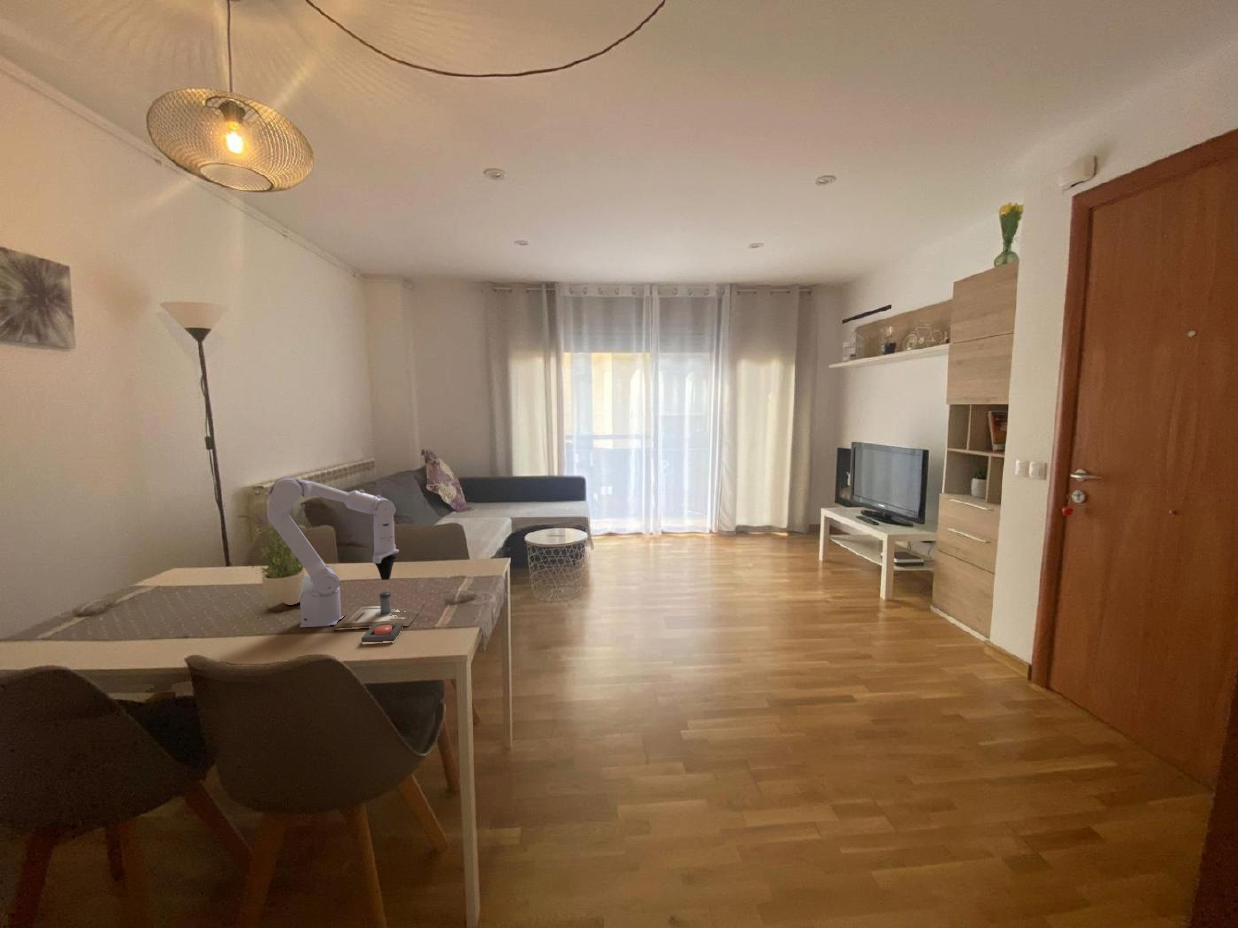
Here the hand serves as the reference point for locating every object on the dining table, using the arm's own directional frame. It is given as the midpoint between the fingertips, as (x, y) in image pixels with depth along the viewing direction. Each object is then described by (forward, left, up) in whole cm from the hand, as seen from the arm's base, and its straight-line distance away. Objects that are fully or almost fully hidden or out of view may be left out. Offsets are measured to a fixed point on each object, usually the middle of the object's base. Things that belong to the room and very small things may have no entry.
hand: (385, 579), depth 144 cm
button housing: (+6, -21, -9) cm, 24 cm away
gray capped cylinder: (+2, -7, -8) cm, 11 cm away
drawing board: (+1, -7, -9) cm, 12 cm away
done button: (+6, -21, -9) cm, 24 cm away
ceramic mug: (-28, +9, -10) cm, 31 cm away
